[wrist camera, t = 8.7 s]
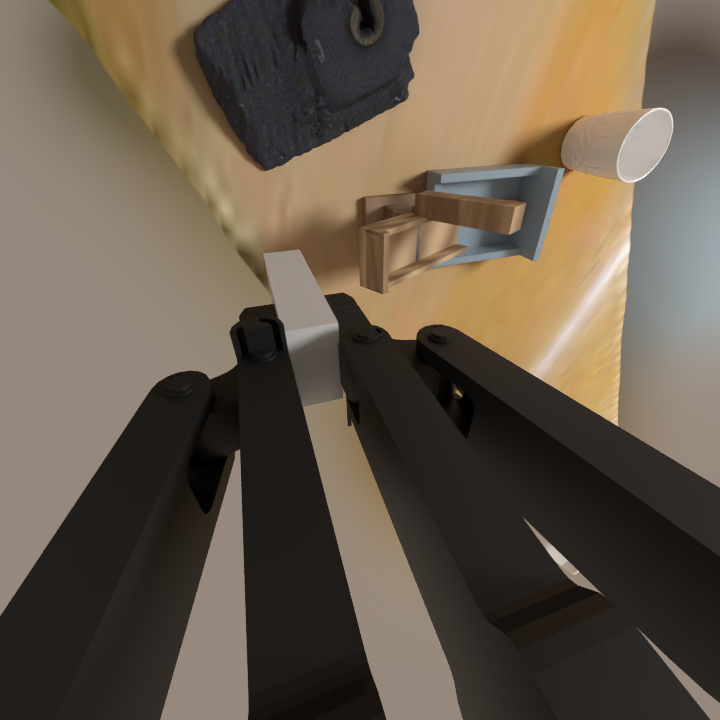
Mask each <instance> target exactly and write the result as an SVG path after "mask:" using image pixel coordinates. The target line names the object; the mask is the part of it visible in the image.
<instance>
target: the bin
mask: <svg viewBox="0 0 720 720" xmlns="http://www.w3.org/2000/svg"><path fill="white" fill-rule="evenodd" d="M564 170H565V168H559V167H552V166H545V165H538V164H531V163H522V164H509V165H495V166H482V167H469V168H456V169H442V170H429V171H427V180H426V191H428V190H429V191H437V192H445V193H453V194H461V195H469V196H477V197H485V198H493V199H501V200H517V201H519V202H525V203H526V207H525V211H524V215H523V219H522V223H521V228H520V230H518V231H516V232H514V233H512V234H510V235H506V234H501V233H496V232H490V231H485V230H480V229H474V228H469V227H464V226H459V229H458V237H457V244H461V245H465V246H468V251H466V252H464V253H461V254H459V255H457V256H455V257H453V258H451V259H449V260H447V261H445V262H442V263H440V264H438V265H436V266H434V267H441V266H447V265H454V264H461V263H468V262H474V261H481V260H488V259H494V258H501V257H508V256H515V255H521V256H523V257H525V258H528V259H530V260H532V261H536V260H539V257H540V253H541V250H542V246H543V243H544V240H545V236H546V233H547V229H548V226H549V222H550V219H551V215H552V212H553V208H554V205H555V201H556V198H557V194H558V191H559V187H560V184H561V180H562V177H563V173H564ZM434 267H432V268H434Z"/></svg>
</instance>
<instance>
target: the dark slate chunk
mask: <svg viewBox="0 0 720 720" xmlns="http://www.w3.org/2000/svg"><path fill="white" fill-rule="evenodd" d="M359 4H360V10H361V12H360V10H359V8H358V6H356V5H355V4H353V3H352V2H351V0H231V1H230V2H228V3H227V4H226V5H225V7H224V8H223V9H222V10H220V11H218V12H216V13H214V14H212V15H210V16H208V17H206V18H205V19H204V20H203V23H202V25H201V26H200V27H198V28H196V30H195V32H194V35H193V37H194V44H195V49H196V56H197V59H198V62H199V64H200V66H201V68H202V70H203V72H204V75H205V77H206V79H207V81H208V83H209V85H210V87H211V89H212V92H213V96H214V97H215V98H216V100H217V102H218V104H219V105H220V107H221V108H222V110H223V111H224V113H225V115H226V116H227V119H228V122H229V123H230V125H231V127H232V129H233V130H234V131H235V133H236V135H237V136H238V138H239V139H240V140H241V141H242V142H243V143H244V144H245V145H246V150H247V152H248V154H249V155H251V156H252V158H253V159H254V160H255V161H256V162H258V163H260V164H261V165H262V166H263V168H264V170H265V171H268V170H270V169H273V168H275V167H276V166H281V165H283V164H285V163H287V162H288V161H289V160H291V159H292V158H293V157H294V156H300V155H302V154H303V153H306V152H309V151H311V150H312V149H313V148H316V147H319V146H321V145H323V144H325V143H327V142H330V141H331V140H332V139H335V138H337V137H339V136H340V135H342V134H343V133H344V132H348V131H350V130H351V129H353V128H355V127H358V126H359V125H361V124H362V123H364V122H366V121H368V120H370V119H372V118H373V117H375V116H376V115H378V114H381V113H383V112H384V111H386V110H388V109H391V108H393V107H395V106H396V105H398V104H399V103H402V102H404V101H405V100H406V99H407V98H408V95H409V93H408V83H409V82H410V81H411V80H412V79H413V78H414V72H413V69H412V66H411V63H410V58H409V54H408V53H409V52H411V50H412V47H413V43H414V41H415V39H416V38H417V36H418V35H419V24H418V18H417V13H416V11H415V8H414V4H413V0H359ZM361 13H362V15H361ZM362 18H363V19H362ZM361 21H362V22H361Z"/></svg>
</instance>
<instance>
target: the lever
mask: <svg viewBox="0 0 720 720" xmlns="http://www.w3.org/2000/svg"><path fill="white" fill-rule="evenodd" d="M525 207H526V203H525V202H517V201H509V200H501V199H493V198H485V197H477V196H469V195H461V194H453V193H445V192H437V191H429V190H428V191H424V192H420V193H416V194H415V206H413V207H412V212H409V213H406V214H402V215H399V216H396V217H392V218H389V219H386V220H382V221H379V222H376V223H372V224H369V225H365V226H362V227H359V228H358V229H359V264H360V286H362V287H365V288H368V289H370V290H373V291H376V292H378V293H381V294H385V293H387V292H388V288H390V287H392V286H394V285H396V284H398V283H400V282H403V281H405V280H407V279H409V278H411V277H413V276H415V275H417V274H419V273H421V272H424V271H426V270H428V269H430V268H432V267H434V266H436V265H438V264H440V263H442V262H445V261H447V260H449V259H451V258H453V257H455V256H457V255H459V254H461V253H464V252H466V251H468V246H465V245H461V244H457V237H458V229H459V226H464V227H469V228H474V229H480V230H485V231H490V232H496V233H501V234H506V235H510V234H512V233H514V232H516V231H518V230H520V228H521V223H522V219H523V215H524V211H525Z"/></svg>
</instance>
